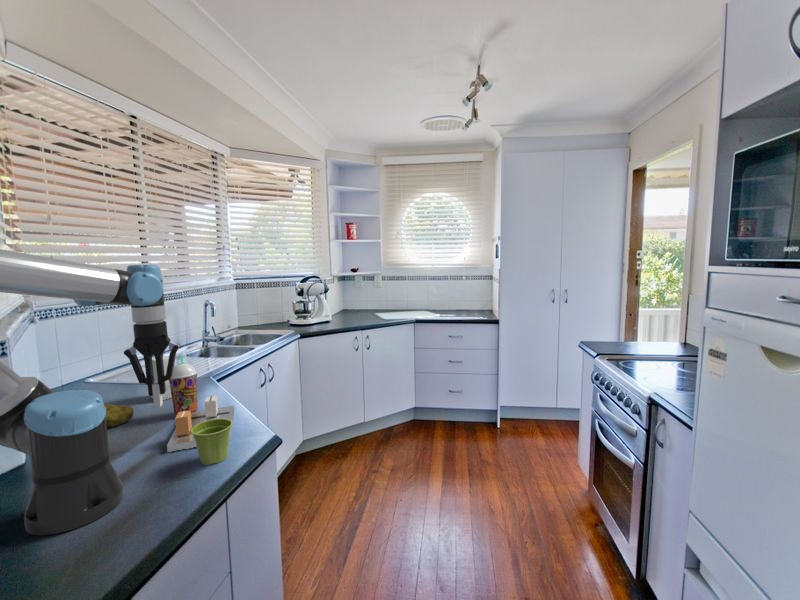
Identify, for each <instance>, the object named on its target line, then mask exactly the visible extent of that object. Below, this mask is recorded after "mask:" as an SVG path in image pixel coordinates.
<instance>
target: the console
mask: <svg viewBox="0 0 800 600" xmlns="http://www.w3.org/2000/svg"><path fill="white" fill-rule="evenodd" d="M234 415H235V406H234V405H231V406H224V407H218V413H217V416H213V417H207V418H206V413H205V409H204V410H196V411H195V412H191V423H192V428H193V427H194V426H195V425H197V424H199V423H202V422H204V421H208V420H213V419H229V420H231V421H232V424H233V423H234ZM192 428H191V429H192ZM232 429H233V425H232V426H231V429H230V432H229V441H231V437H230V436H232ZM193 447H197V444H196V440H195V438H194V436H193V434H191V430H190V433H189V434H185V435H179V436H177V434H176V428H175V429H174V431H173V432H172V435H171V436H170V439H169V441H168V443H167V444H166V450H167V453H168V452H169V453H173V452H172V451H175V452H177V451H176V450H180V451H183V450H182V449H186V450H189V449H188V448H191V449H194V448H193Z"/></svg>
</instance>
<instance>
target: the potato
mask: <svg viewBox="0 0 800 600" xmlns="http://www.w3.org/2000/svg"><path fill="white" fill-rule="evenodd" d="M103 403H104V402H103ZM104 407H105V408H106V425H107V428H113V427H117V426H120V425H122V424H124V423H127V422H128V421H129V420H131V419H132V418H133V416H134V409H133V407H130V406H127V405H119V404H118V405H117V404H116V405H115V404H109V403H107V402H106V403H104Z"/></svg>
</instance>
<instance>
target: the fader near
mask: <svg viewBox="0 0 800 600" xmlns="http://www.w3.org/2000/svg"><path fill="white" fill-rule="evenodd" d="M174 420H175V429H176V434H177V436H179V435H185V434H189V433H190V430H191V428H192V423H191V411H190V410H189V411H182V412H178V414H177V415H176V416H175V418H174Z"/></svg>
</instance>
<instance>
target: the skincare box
mask: <svg viewBox="0 0 800 600" xmlns="http://www.w3.org/2000/svg"><path fill="white" fill-rule="evenodd" d="M168 360H169V355H164V354H163V364H164V374H165V376H166V371H167V366H168ZM152 363H153V373H154V379H155V380H154V382H158V377H157V368H156V359H155V356H153V357H152ZM175 366H176V365H175V363H174V367H175ZM165 387H166V391H165V393H164V394H162V400H164V401H167V400H170V399H172V395H171V389H170V383H169V380H167V381H165ZM150 398H151V399H153V396H150ZM169 398H170V399H169ZM166 399H167V400H166Z"/></svg>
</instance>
